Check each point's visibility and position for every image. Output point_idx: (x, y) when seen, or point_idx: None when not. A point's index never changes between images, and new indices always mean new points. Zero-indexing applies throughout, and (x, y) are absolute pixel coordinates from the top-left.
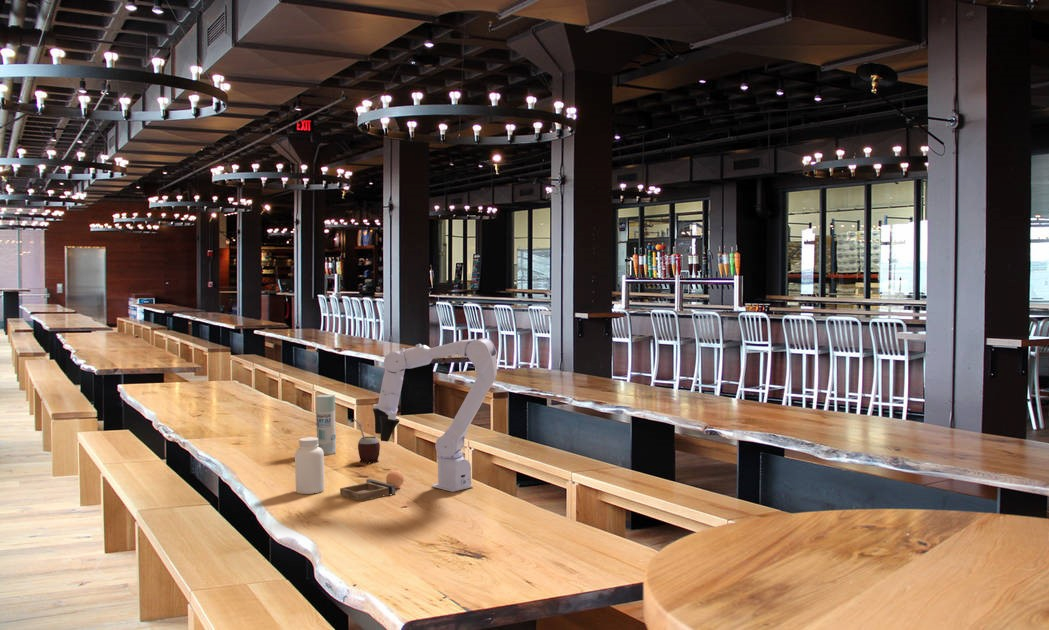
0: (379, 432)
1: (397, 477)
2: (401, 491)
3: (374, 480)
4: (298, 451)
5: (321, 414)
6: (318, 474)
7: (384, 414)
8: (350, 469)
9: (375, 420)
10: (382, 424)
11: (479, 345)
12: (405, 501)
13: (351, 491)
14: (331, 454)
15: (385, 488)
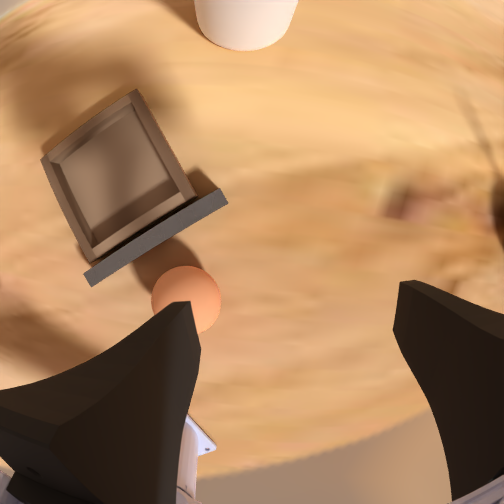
0: (399, 314)
1: (153, 310)
2: (136, 304)
3: (189, 219)
4: None
5: None
6: (200, 3)
7: (477, 443)
8: (480, 183)
9: (475, 319)
10: (50, 382)
11: None
12: (29, 293)
13: (80, 128)
14: None
15: (82, 249)
